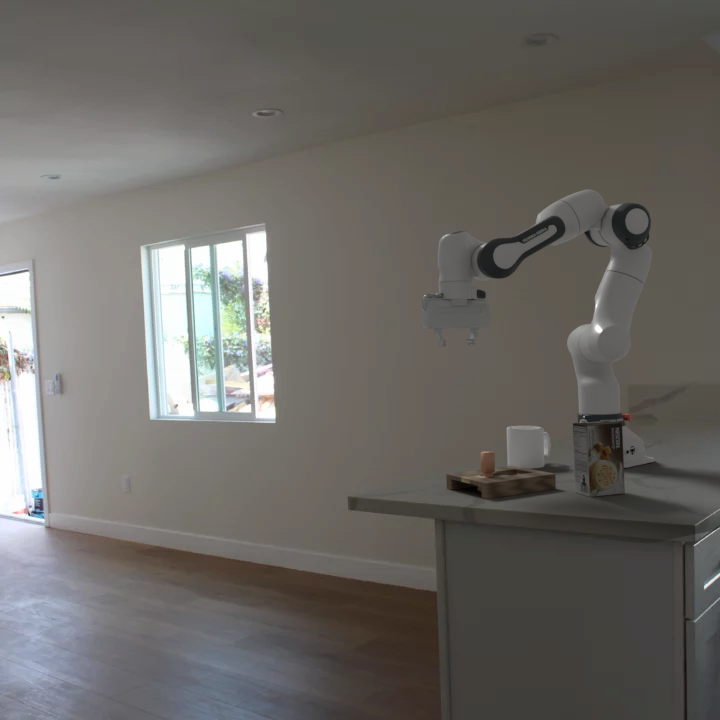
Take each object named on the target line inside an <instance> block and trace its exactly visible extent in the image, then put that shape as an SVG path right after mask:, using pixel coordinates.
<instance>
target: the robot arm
mask: <svg viewBox="0 0 720 720" xmlns="http://www.w3.org/2000/svg"><path fill="white" fill-rule="evenodd" d="M651 219H652V218H651V215H650V212H649V210H648V209H647V208H646V207H645V206H644V205H642V204H640V203H635V202H625V203H618V204H613V205H610V206H608V205H607V204H606V203H605V200H604V198H603V197H602V195H601V194H600V193H599V192H598V191H596V190H594V189H590V188H589V189H583V190H580V191H577V192H574V193H571V194H568V195H566V196H564V197H562V198H560V199H558V200H557V201H555V202H553V203H552V204H550V205H548V206H547V207H545V208H544V209H543V210H542V211H540V212H539V213H538V214H537V217H536V220H535V224H533V225H532V226H530V227H529V228H526V229H525V230H524V231H522V232H520V233H518V234H516V235H514V236H512V237H502V238H501V237H499V238H494V239H492V240H489V241H487V242H486V241H485V242H484V241H482V240H479V239H477V238H476V237H474V236H472V235H471V234H470V233H469V232H468V231H467V230H458V231H454V232H451V233H447V234H445V235H443V236H442V237H441V238H440V239H439V241H438V249H437V250H438V251H437V267H438V271H439V278H438V293H432V292H431V293H427V294H426V295H424V296H423V297H422V300H421V306H422V309H421V317H420V318H421V319H420V322H421V323H420V325H421V327H422V328H423V329H424V330H433V334H434V336H435V338H436V340H437V347H446V346H447V339H444V337H443V335H442V334H443V330H445V329H470V330H469V331H470V333H471V334H470V337H469V338H466V339H467V340H466V341H467V346H476V345H477V342H476V341H477V337H478V335H479V333H480V329H482V328H483V329H487V328H490V325H491V323H492V312H491V306H490V303H489V302H488V301H487V300H488V299H489V295H490V294H489V292H488V291H487V290H485V289H482V288H480V287H477V286H475V285H473V280H476V281H477V280H478V281H482V282H485V281H492V280H496V279H505V278H509V277H510V276H512V275H513V274H514V273H515V272H516V270H517V269H518V268H519V267H520V265H521V264H522V262H523V261H525V259H526V258H529V257H530V256H532V255H533V254H535V253H537V252H539V251H541V250H542V249H544V248H546V247H548V246H552V247H553V246H558V245H561V244H564V243H566V242H569V241H571V240H573V239H575V238H577V237H578V236H580V235H582V234H584V236H585V237H586V239H587V240H588V242H590V243H591V244H592V245H594V246H597V247H600V248H601V247H602V248H607V247H610V257H609V258H610V261H609V262H608V263H607V267H606V269H605V271H604V273H603V275H602V279H601V280H600V283H599V286H598V288H597V291H596V293H595V295H594V311H593V317H592V320H591V322H590V323H587V324H586V323H585V324H582V325H579V326H577V328H575V329H573V330H572V331H571V333H570V334H569V335H568V338H567V339H566V340H567V341H566V342H567V343H566V344H567V345H566V346H567V350H568V352H569V354H570V355H571V360H572V363H573V369H574V372H575V376H576V377H575V378H576V382H577V393H578V394H577V395H578V413H577V415H576V416H577V418H576V419H577V422H576V423H583V422H598V421H612V422H618V423H622V435H623V459H624V469H625V468H626V469H627V468H628V469H629V468H632V467H637V466H641V465H645V464H649V463H654V462H655V458H654V457H653V456H648V455H646V449H645V443H644V441H643V439H642V438H641V437H640V436H638V435H637V434H636V433H635V432H633V431H632V430H631V429H630V428H629V427H627V426H626V425H627V424H626V421H627V422H631V421H632V420H633V416H632V414H631V413H624V414H623V412H621V387H620V383H619V380H618V379H617V377H616V375H615V372H614V367H613V363H616V362H618V361H621V360H622V359H624V358H625V357H626V356H627V355H628V354H629V352H630V350H631V348H632V339H631V326H632V320H633V316H634V312H635V308H636V306H637V303H638V302H639V299H640V297H641V293H642V291H643V288H644V286H645V284H646V281H647V278H648V275H649V272H650V268H651V264H652V258H653V251H652V249H651V247H649V246H648V245H647V242H648V241H649V239H650V230H651V226H652V225H651V224H652V220H651Z"/></svg>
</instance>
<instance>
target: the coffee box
mask: <svg viewBox="0 0 720 720" xmlns="http://www.w3.org/2000/svg"><path fill="white" fill-rule="evenodd" d="M572 431H573V433H572V434H573V437H572V439H573V440H572V441H573V460H574V461H573V463H574V487H575V493H577V494H579V495H583V496H586V497H588V498H595V497H601V496H612V495H622V494H625V492H626V490H625V489H626V487H625V468H624V459H623V435H622V423H618V422H612V421H598V422H583V423H577V422H572Z"/></svg>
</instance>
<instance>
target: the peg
mask: <svg viewBox="0 0 720 720" xmlns="http://www.w3.org/2000/svg"><path fill="white" fill-rule="evenodd" d="M495 455H496V454H495V451H487V450H486V451H485V450H483V451H480V470H481V472H483V476H485V477H492V476H493V472H495V468H496V464H495V462H496V461H495V459H496V456H495ZM477 491H478V492H480V493H482V491H481V486H477Z"/></svg>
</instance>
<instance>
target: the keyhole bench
mask: <svg viewBox="0 0 720 720" xmlns="http://www.w3.org/2000/svg"><path fill="white" fill-rule="evenodd" d="M445 476H446V477H445V478H446V489H447V490H451V489H453V490H458V489H459V488H460V489H466V487H467V488H473V487H478V486H481V491H482V492H481V498H482V499H486V500H489V499H495V498H496V499H497V498H501V497H508V496H509V497H510V496H515V495H517V496H518V495H521V494H522V495H523V494H528V493H536V492H537V493H538V492H541V491H542V492H543V491H551V490H556V489H557V487H556V486H557V483H556V481H557V478H556V477H557V476H556V473H552V472H548V471H542V470H538V469H537V470H536V469H533V468H531V469H527V468H522V467H517V466H508V465H507V466H498V467H495V472H493V476H492V477H485V476H483V472H481V469H475V470H469V471H461V472H459V471H458V472H451V473H446V474H445Z"/></svg>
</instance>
